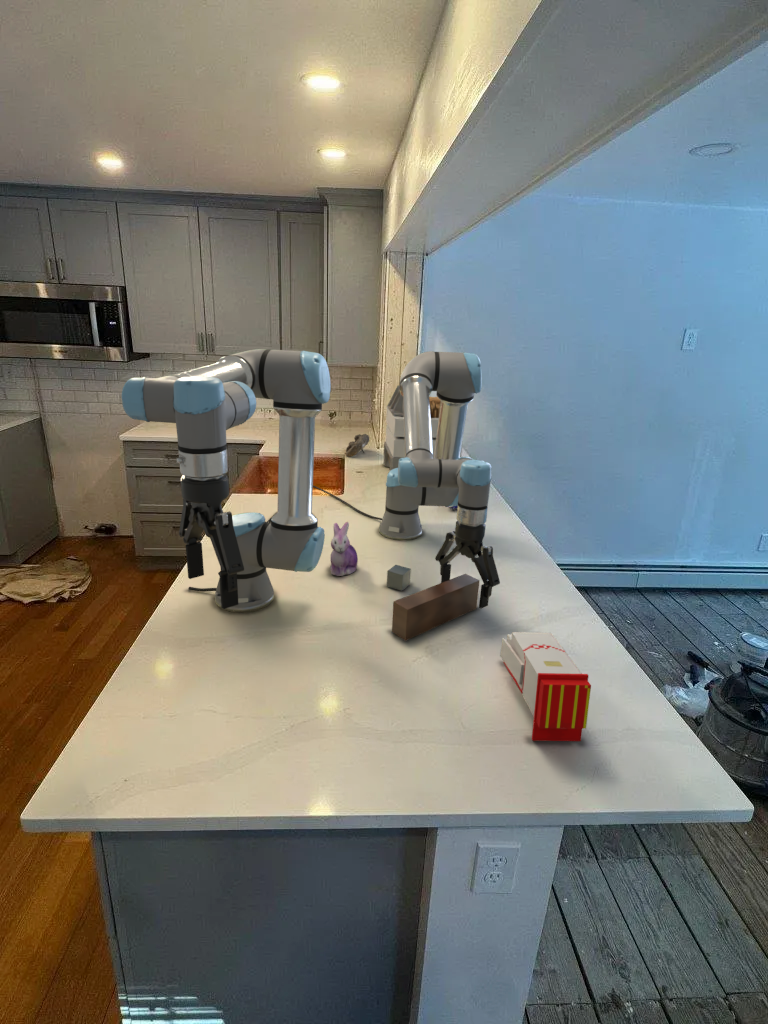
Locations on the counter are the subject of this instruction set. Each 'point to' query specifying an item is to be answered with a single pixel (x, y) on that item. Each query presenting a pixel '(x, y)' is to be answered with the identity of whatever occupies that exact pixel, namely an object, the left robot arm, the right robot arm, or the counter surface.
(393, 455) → the grey slatted crate
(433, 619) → the walnut bar
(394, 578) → the grey block
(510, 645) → the toy
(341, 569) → the figurine
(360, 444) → the fossil
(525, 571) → the counter surface
